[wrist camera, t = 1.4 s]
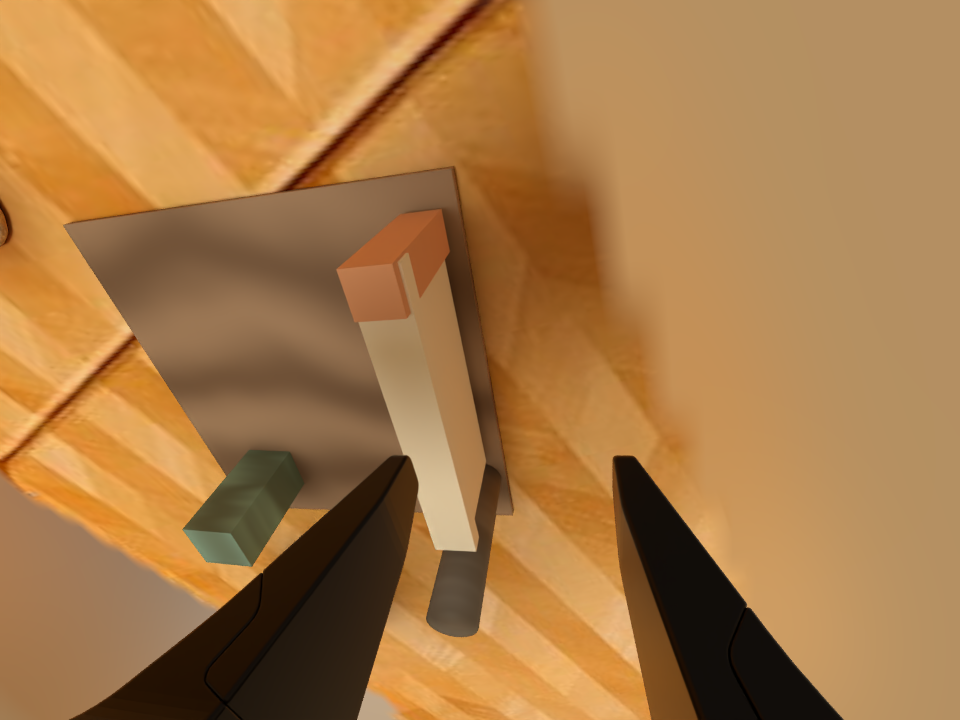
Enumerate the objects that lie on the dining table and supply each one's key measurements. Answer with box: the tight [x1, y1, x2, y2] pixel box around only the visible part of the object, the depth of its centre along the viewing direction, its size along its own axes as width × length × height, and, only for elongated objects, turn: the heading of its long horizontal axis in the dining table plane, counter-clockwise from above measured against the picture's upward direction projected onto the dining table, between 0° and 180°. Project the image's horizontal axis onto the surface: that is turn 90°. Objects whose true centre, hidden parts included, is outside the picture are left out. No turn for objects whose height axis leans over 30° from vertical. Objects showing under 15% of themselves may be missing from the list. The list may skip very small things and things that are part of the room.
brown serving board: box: [63, 167, 513, 637], centre depth 22 cm, size 21×20×9 cm
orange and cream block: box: [336, 209, 486, 552], centre depth 19 cm, size 14×2×6 cm, turn 9°
